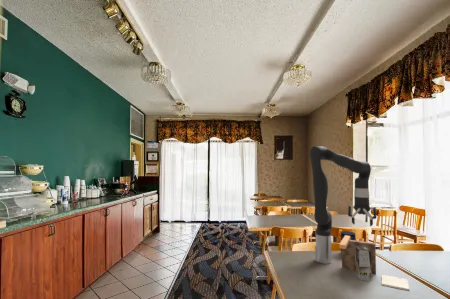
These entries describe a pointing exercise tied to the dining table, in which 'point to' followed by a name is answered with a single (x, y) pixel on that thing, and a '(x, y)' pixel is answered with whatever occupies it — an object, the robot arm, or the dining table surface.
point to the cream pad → (395, 282)
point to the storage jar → (347, 233)
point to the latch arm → (344, 242)
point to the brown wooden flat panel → (349, 255)
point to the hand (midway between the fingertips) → (362, 225)
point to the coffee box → (363, 263)
